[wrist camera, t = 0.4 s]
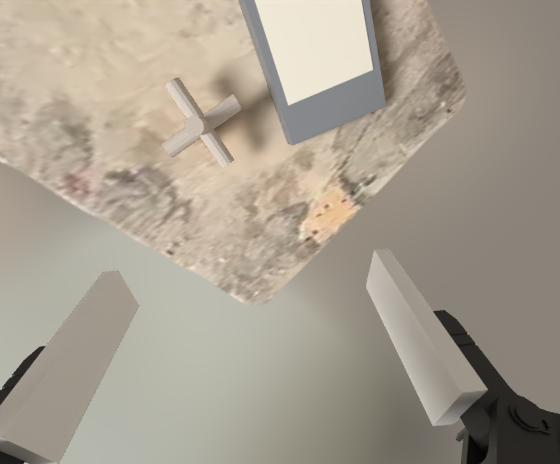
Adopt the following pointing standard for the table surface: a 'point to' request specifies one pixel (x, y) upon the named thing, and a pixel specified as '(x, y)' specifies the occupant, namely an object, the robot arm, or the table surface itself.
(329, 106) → the grey flat block
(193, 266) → the table surface
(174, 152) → the pipe connector
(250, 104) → the table surface
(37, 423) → the robot arm
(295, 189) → the table surface
